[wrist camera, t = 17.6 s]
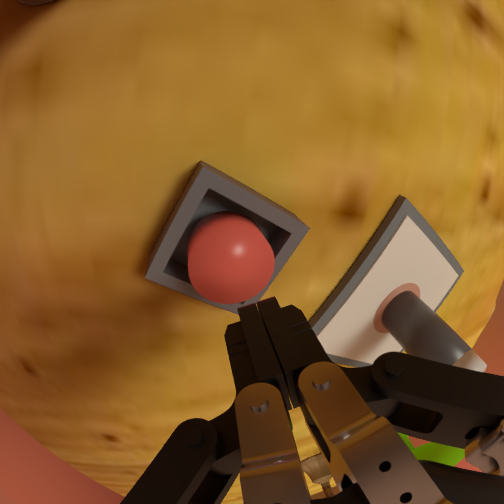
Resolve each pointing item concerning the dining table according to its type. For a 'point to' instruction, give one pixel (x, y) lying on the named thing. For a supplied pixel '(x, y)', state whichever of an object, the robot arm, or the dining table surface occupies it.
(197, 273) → the button
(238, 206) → the button base
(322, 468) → the hand bell
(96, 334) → the dining table surface
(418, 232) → the board
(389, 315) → the canister
